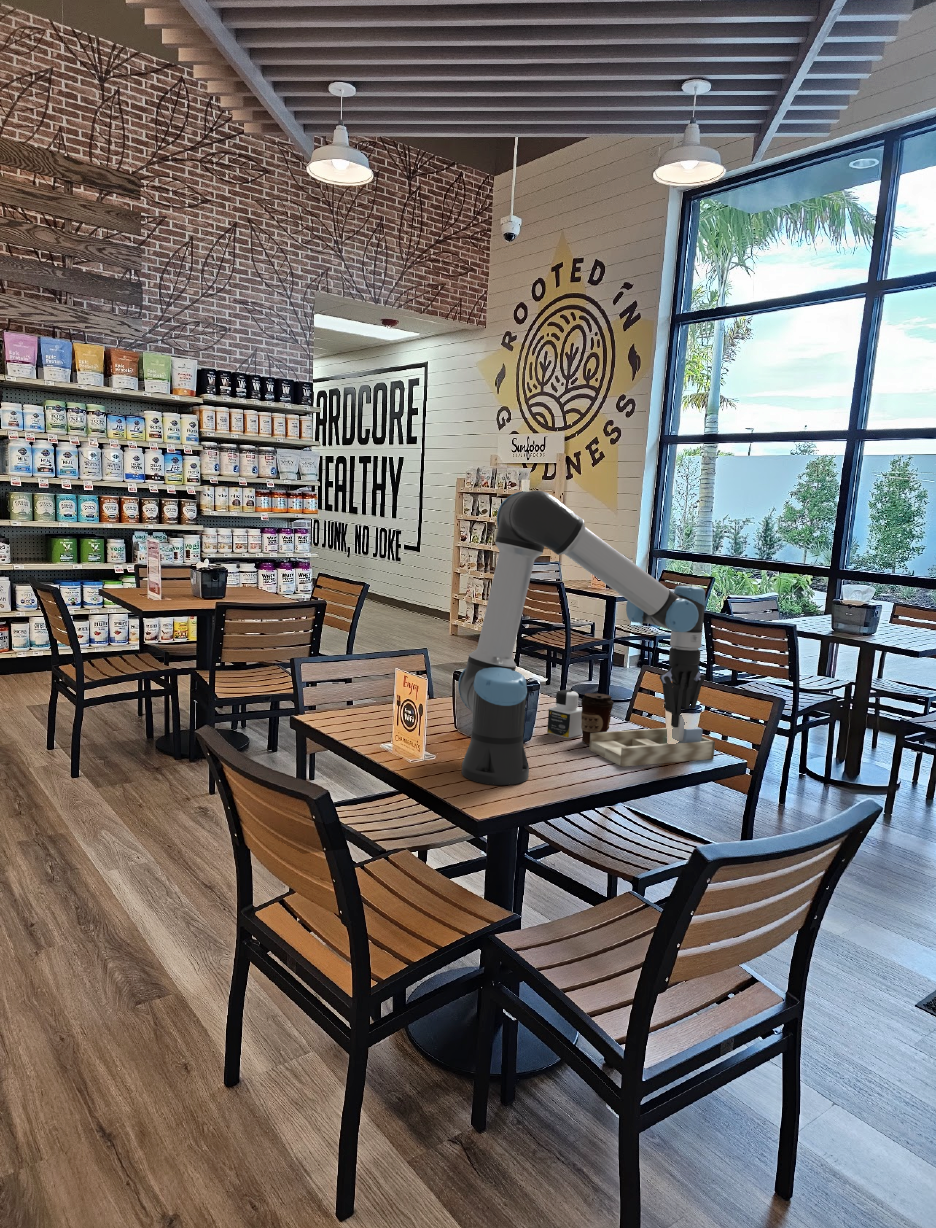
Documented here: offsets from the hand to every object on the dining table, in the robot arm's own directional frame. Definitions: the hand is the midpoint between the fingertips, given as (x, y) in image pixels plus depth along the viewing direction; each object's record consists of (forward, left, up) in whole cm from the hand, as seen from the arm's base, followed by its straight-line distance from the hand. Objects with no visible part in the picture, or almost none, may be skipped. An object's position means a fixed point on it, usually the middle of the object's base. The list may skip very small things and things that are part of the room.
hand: (677, 739), depth 202 cm
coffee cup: (-14, +16, -5) cm, 22 cm away
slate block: (+3, 0, -2) cm, 4 cm away
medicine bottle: (-17, +26, -5) cm, 32 cm away
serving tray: (-5, +3, -5) cm, 8 cm away
